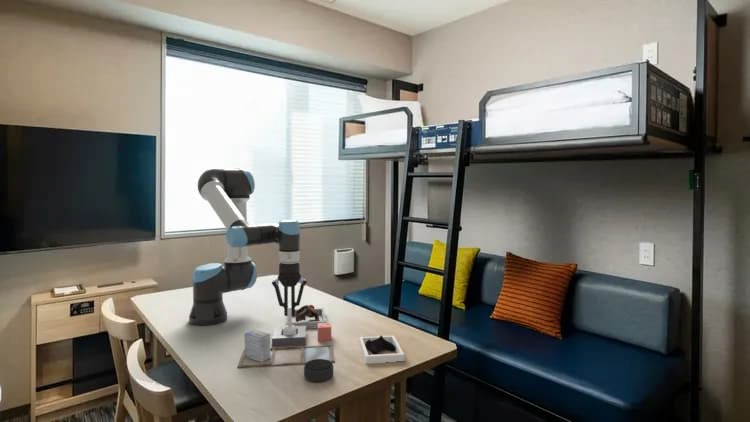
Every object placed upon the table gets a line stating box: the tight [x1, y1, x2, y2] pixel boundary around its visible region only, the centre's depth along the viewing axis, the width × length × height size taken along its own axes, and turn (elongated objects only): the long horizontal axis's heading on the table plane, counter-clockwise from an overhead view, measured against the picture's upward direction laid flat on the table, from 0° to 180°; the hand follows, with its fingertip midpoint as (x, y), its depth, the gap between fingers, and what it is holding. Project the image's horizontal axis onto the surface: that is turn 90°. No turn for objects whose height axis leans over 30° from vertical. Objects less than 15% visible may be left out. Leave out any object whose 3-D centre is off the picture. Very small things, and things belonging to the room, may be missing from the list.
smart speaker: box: [303, 359, 334, 383], centre depth 129 cm, size 9×9×4 cm
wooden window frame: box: [237, 344, 336, 369], centre depth 143 cm, size 31×14×1 cm, turn 99°
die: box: [317, 321, 332, 342], centre depth 160 cm, size 5×5×6 cm
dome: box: [283, 324, 296, 335], centre depth 157 cm, size 5×5×6 cm
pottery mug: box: [294, 304, 321, 322], centre depth 178 cm, size 12×10×8 cm
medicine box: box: [244, 328, 271, 363], centre depth 141 cm, size 8×4×9 cm, turn 58°
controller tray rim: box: [358, 335, 405, 365], centre depth 147 cm, size 13×17×2 cm
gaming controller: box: [365, 335, 395, 355], centre depth 147 cm, size 11×4×7 cm
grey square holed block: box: [271, 326, 307, 348], centre depth 158 cm, size 12×12×3 cm
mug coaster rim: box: [285, 307, 327, 330], centre depth 178 cm, size 16×18×2 cm
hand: (289, 323), depth 157 cm, fingers closed
